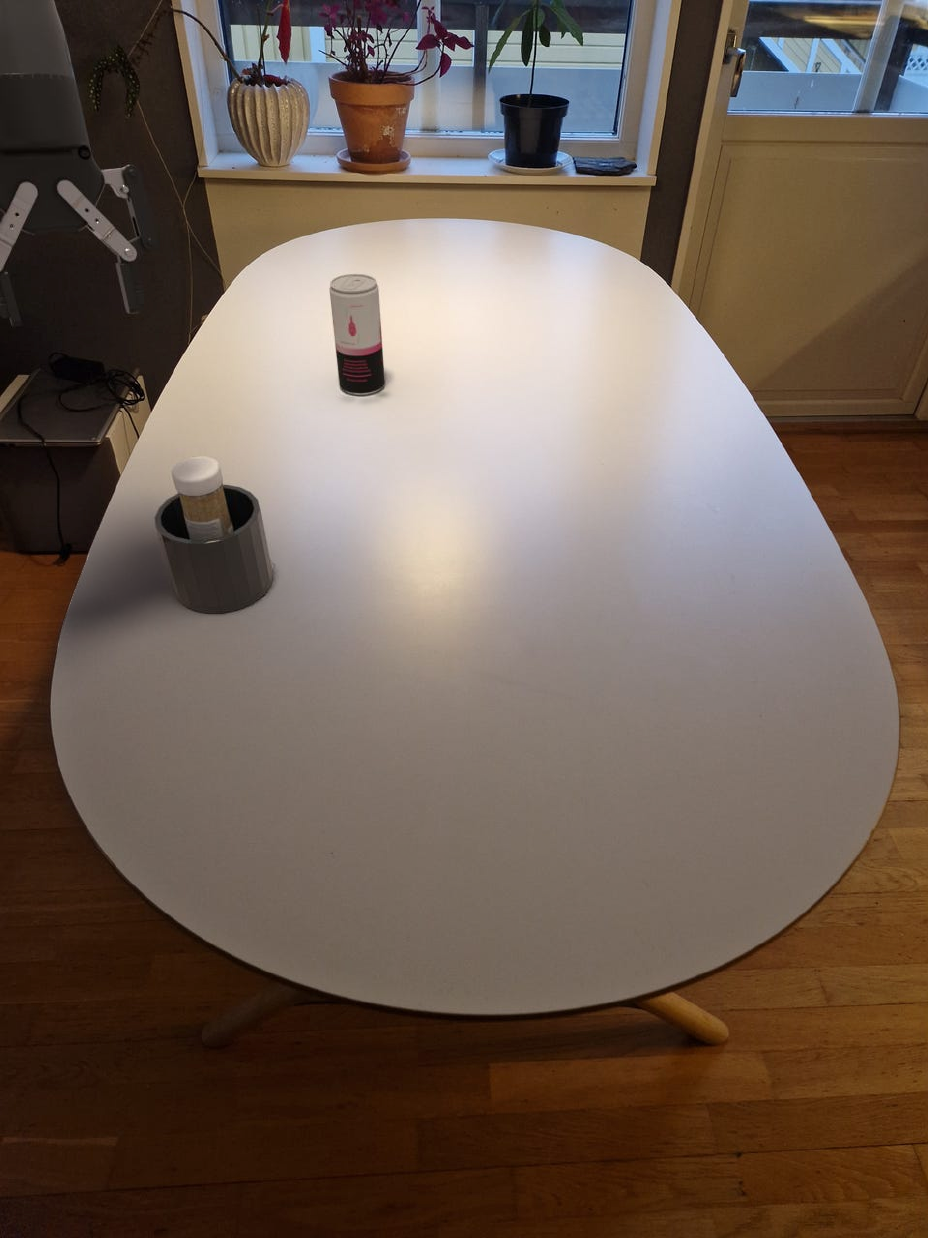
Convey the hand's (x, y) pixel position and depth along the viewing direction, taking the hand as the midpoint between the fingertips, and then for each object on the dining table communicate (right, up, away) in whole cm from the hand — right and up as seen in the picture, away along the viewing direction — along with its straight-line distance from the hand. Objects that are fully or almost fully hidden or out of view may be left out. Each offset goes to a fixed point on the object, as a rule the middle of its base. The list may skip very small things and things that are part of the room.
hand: (76, 318), depth 67 cm
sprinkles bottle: (+5, -19, +24) cm, 31 cm away
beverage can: (+15, +10, +58) cm, 61 cm away
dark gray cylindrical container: (+5, -20, +24) cm, 32 cm away
